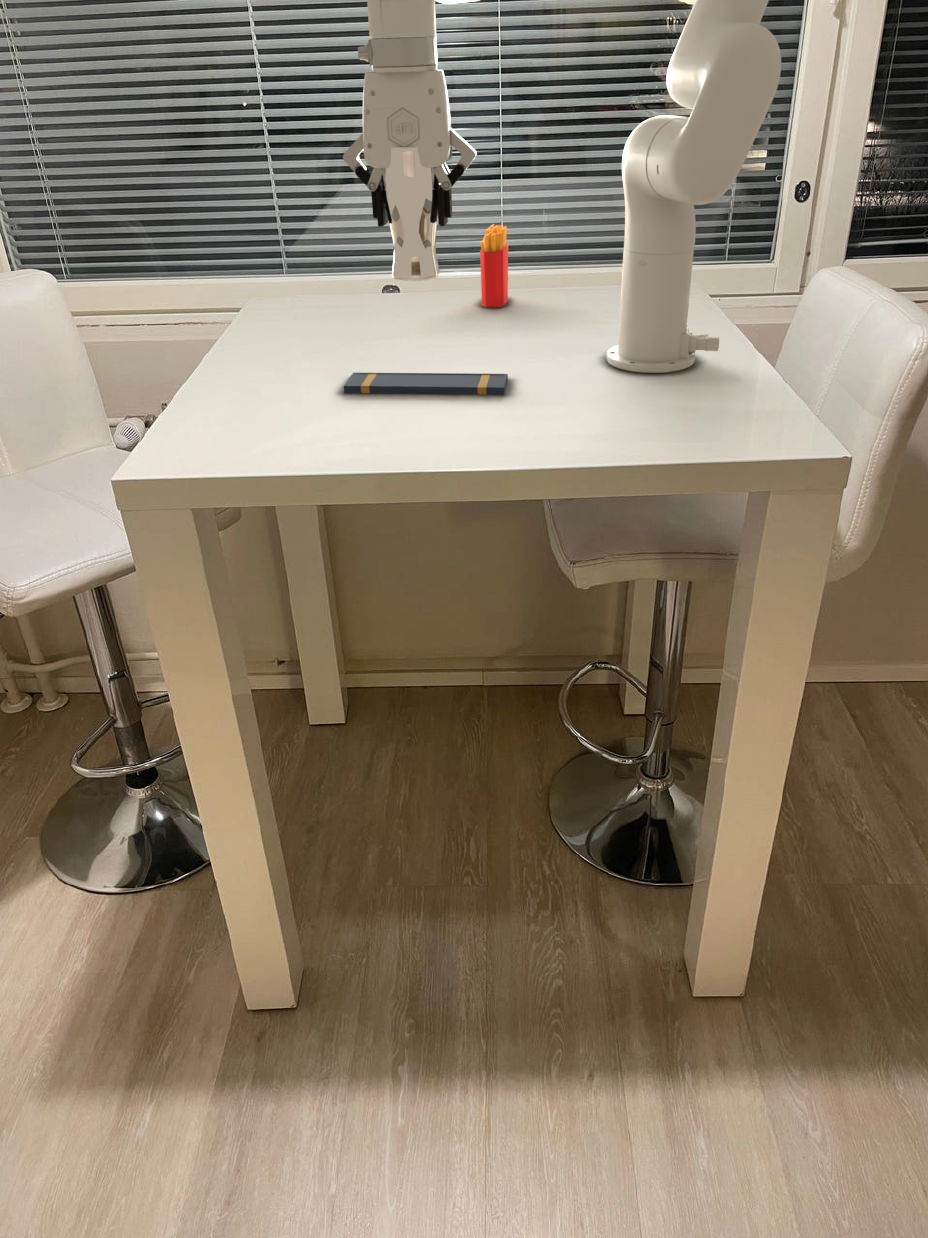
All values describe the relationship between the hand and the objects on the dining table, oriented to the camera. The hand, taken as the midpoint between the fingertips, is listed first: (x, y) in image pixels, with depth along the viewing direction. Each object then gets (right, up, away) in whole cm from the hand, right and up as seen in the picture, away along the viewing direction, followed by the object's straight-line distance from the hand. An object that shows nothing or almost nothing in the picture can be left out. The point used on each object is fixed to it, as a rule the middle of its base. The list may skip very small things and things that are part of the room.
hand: (413, 223), depth 117 cm
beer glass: (0, -5, +3) cm, 6 cm away
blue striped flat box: (+1, -17, +14) cm, 22 cm away
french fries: (+12, +8, +54) cm, 56 cm away
